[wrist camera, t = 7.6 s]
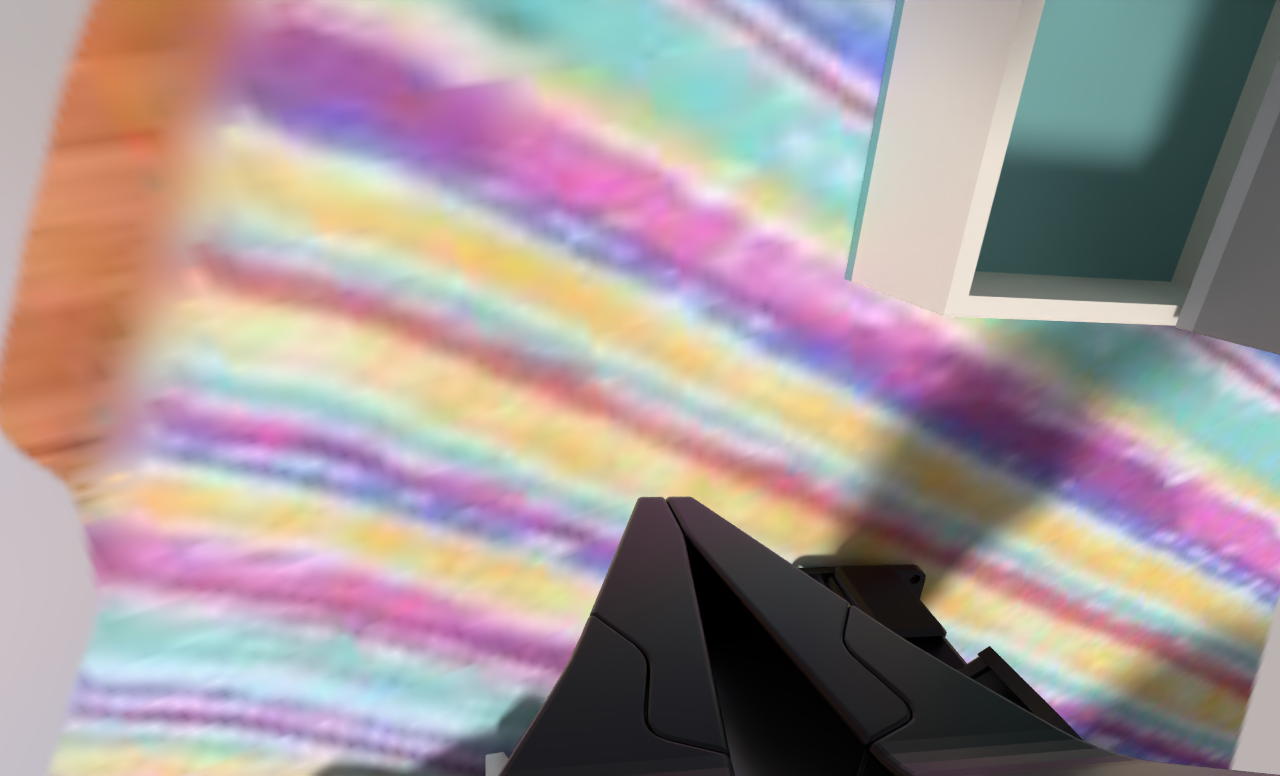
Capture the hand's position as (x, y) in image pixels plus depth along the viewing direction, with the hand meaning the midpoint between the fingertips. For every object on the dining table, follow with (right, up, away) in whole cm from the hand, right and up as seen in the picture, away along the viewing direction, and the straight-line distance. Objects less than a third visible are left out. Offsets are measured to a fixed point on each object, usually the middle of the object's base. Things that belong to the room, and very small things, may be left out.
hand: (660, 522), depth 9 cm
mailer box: (+15, +12, +12) cm, 22 cm away
